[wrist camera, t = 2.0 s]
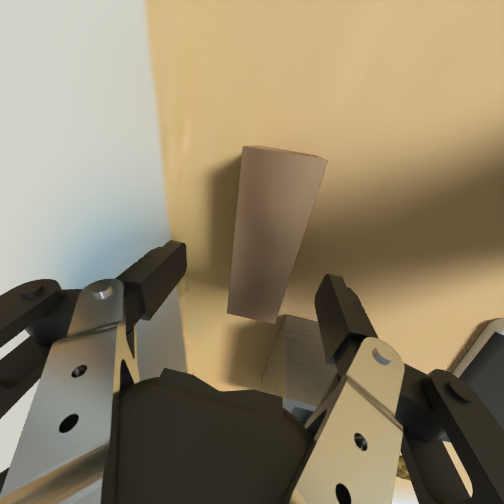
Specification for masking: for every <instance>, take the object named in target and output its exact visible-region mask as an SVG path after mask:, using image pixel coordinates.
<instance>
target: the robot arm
mask: <svg viewBox="0 0 504 504" xmlns="http://www.w3.org/2000/svg"><path fill="white" fill-rule="evenodd" d="M186 268H187V258H186V245H185V243H182V242H177V241H173V240H170V241H169V242H168V243H167V244H165V245H164V246H163V247H158V248H155V249H153V250H151V251H149V252H148V253H147V254H145V255H144V257H142V258H140V259H139V260H138V262H135V263H134V264H133V265H132V266H130V267H129V268H128V269H127V270H125V271H124V272H123V273H122V274H120V275H119V276H118V277H117V278H115V279H103V280H99V281H96V282H94V283H92V284H89V285H88V286H86V287H85V288H84V289H70V290H62V289H61V287H60V285H59V283H58V282H57V281H55V280H51V279H41V280H35V281H30V282H27V283H24V284H22V285H19V286H17V287H15V288H13V289H11V290H9V291H8V292H6V293H4V294H2V295H1V296H0V347H2V346H3V345H5V344H6V343H7V342H8V341H10V340H11V339H13V338H14V337H15V336H17V335H18V334H19V333H20V332H22V331H23V330H24V329H25V330H26V331H27V332H28V334H29V335H30V337H28V338H27V339H26V340H25V341H23V342H22V343H21V344H20V345H18V346H17V347H16V348H15V349H13V350H12V351H11V352H10V353H8V354H7V355H6V356H5V357H4V358H2V359H1V360H0V419H1V418H2V416H3V415H5V414H6V413H7V411H8V410H9V409H10V408H11V407H12V406H13V405H14V404H15V403H16V402H17V401H18V400H19V399H20V398H21V397H22V396H23V395H24V394H25V393H26V392H27V391H28V390H29V389H30V388H31V387H32V386H33V385H34V384H35V383H36V382H37V380H39V379H40V381H39V384H38V387H37V390H36V393H35V395H34V399H33V402H32V404H31V407H30V410H29V413H28V416H27V419H26V422H25V424H24V427H23V430H22V433H21V436H20V439H19V442H18V445H17V448H16V451H15V453H14V457H13V459H12V462H11V465H10V467H9V468H7V469H6V470H4V471H3V472H1V473H0V504H391V503H392V497H393V491H394V485H395V479H396V473H397V467H398V461H399V455H400V451H401V453H402V456H403V459H404V462H405V465H406V468H407V471H408V473H409V476H410V479H411V482H412V485H413V488H414V491H415V494H416V496H417V499H418V502H419V504H504V430H503V429H502V427H501V426H500V425H499V423H498V422H497V421H496V419H495V418H494V416H493V415H492V414H491V412H490V411H489V410H488V408H487V407H486V406H485V404H484V403H483V402H482V400H481V399H480V398H479V396H478V395H477V394H476V393H475V392H474V391H473V390H472V389H471V388H470V387H469V386H468V385H467V384H466V383H465V382H463V381H462V380H461V379H459V378H458V377H456V376H455V375H453V374H451V373H449V372H447V371H444V370H440V369H435V370H433V371H432V372H430V373H429V374H428V375H427V374H425V373H423V372H421V371H419V370H417V369H415V368H413V367H411V366H409V365H407V364H405V363H403V361H402V359H401V357H400V356H399V354H398V353H397V352H396V351H395V350H394V349H393V348H392V347H391V346H390V345H388V344H387V343H386V342H384V341H382V340H380V339H379V338H378V336H377V334H376V332H375V330H374V328H373V326H372V324H371V322H370V320H369V318H368V316H367V314H366V313H365V310H364V308H363V306H362V305H361V302H360V300H359V298H358V296H357V295H356V294H355V293H354V292H353V291H352V290H351V289H350V288H348V287H346V284H345V282H344V280H343V278H342V277H340V276H336V275H331V274H326V275H325V276H324V278H323V280H322V282H321V284H320V287H319V289H318V291H317V293H316V295H315V309H316V314H317V318H318V323H319V328H320V333H321V338H322V343H323V348H324V353H325V358H326V363H328V364H332V365H336V367H337V373H336V374H335V375H334V377H333V379H332V381H331V383H330V384H329V386H328V388H327V390H326V391H325V393H324V395H323V397H322V399H321V400H320V402H319V404H318V406H317V407H316V409H315V411H314V412H313V414H312V415H311V416H310V418H309V419H308V421H307V422H306V424H305V426H303V424H302V423H301V422H300V421H299V420H298V419H297V418H296V417H295V416H294V415H293V414H292V413H290V412H289V411H288V410H286V409H285V408H283V397H281V396H277V395H273V394H269V393H265V392H261V391H257V390H239V391H225V392H221V391H218V390H216V389H215V388H213V387H212V386H210V385H208V384H207V383H205V382H204V381H202V380H200V379H199V378H197V377H196V376H194V375H191V374H187V373H183V372H179V371H175V370H171V369H167V368H164V370H163V371H162V373H161V375H160V377H155V378H150V379H146V380H143V381H140V380H139V374H138V367H137V344H136V343H137V342H136V325H135V324H136V323H137V322H138V320H139V319H143V320H148V321H149V320H150V319H151V318H152V316H153V315H154V314H155V312H156V311H157V310H158V308H159V307H160V306H161V304H162V303H163V302H164V301H165V299H166V298H167V297H168V295H169V294H170V293H171V291H172V290H173V289H174V287H175V286H176V285H177V283H178V282H179V281H180V280H181V278H182V277H183V276H184V274H185V272H186ZM444 436H448V438H449V440H450V442H451V443H452V445H453V447H454V449H455V451H456V453H457V455H458V457H459V459H460V460H461V462H462V464H463V466H464V468H465V470H466V472H467V474H468V476H469V478H470V480H471V483H472V488H473V494H472V497H471V498H470V496H469V494H468V492H467V490H466V488H465V486H464V484H463V482H462V480H461V478H460V476H459V474H458V472H457V470H456V468H455V466H454V464H453V462H452V460H451V458H450V456H449V454H448V452H447V450H446V448H445V446H444V444H443V442H442V440H441V438H442V437H444Z"/></svg>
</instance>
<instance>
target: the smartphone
mask: <svg viewBox="0 0 504 504" xmlns="http://www.w3.org/2000/svg"><path fill="white" fill-rule="evenodd" d="M452 374H453V375H455V376H456V377H458V378H459V379H461V380H462V381H463V382H465V383H466V384H467V385H468V386H469V387H470V388H471V389H472V390H473V391H474V392H475V393H476V394H477V395H478V396H479V398H480V399H481V400H482V402H483V403H484V404H485V406H486V407H487V408H488V410H489V411H490V412H491V414H492V415H493V416H494V418H495V419H496V421H497V422H498V423H499V425H500V426H501V427H502V429H503V430H504V318H500V319H496V320H493V321H492V322H490V323H489V324H488V325H487V327H486V328H485V329H484V331H483V332H482V333H481V335H480V336H479V337H478V339H477V340H476V342H475V343H474V344H473V346H472V347H471V348H470V350H469V351H468V352H467V354H466V355H465V357H464V358H463V359H462V361H461V362H460V363H459V365H458V366H457V367H456V369H455V370H454V372H453V373H452ZM441 440H442V442H446V443H451V442H450V440H449V438H448V436H444V437H442V438H441Z"/></svg>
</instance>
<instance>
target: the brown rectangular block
mask: <svg viewBox="0 0 504 504" xmlns="http://www.w3.org/2000/svg"><path fill="white" fill-rule="evenodd" d="M327 162H328V160H325V159H323V158H320V157H318V156H315V155H311V154H305V153H299V152H293V151H286V150H280V149H274V148H268V147H262V146H243V149H242V160H241V170H240V181H239V191H238V202H237V212H236V223H235V234H234V244H233V255H232V265H231V276H230V286H229V297H228V307H227V313H228V314H233V315H237V316H241V317H245V318H250V319H254V320H258V321H263V322H267V323H271V324H275V322H276V318H277V315H278V312H279V309H280V306H281V303H282V300H283V297H284V294H285V291H286V288H287V285H288V282H289V279H290V276H291V273H292V270H293V266H294V263H295V260H296V257H297V254H298V251H299V248H300V245H301V242H302V239H303V236H304V233H305V230H306V227H307V224H308V221H309V218H310V214H311V211H312V208H313V205H314V202H315V199H316V196H317V193H318V190H319V187H320V184H321V181H322V178H323V175H324V172H325V169H326V166H327Z"/></svg>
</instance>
